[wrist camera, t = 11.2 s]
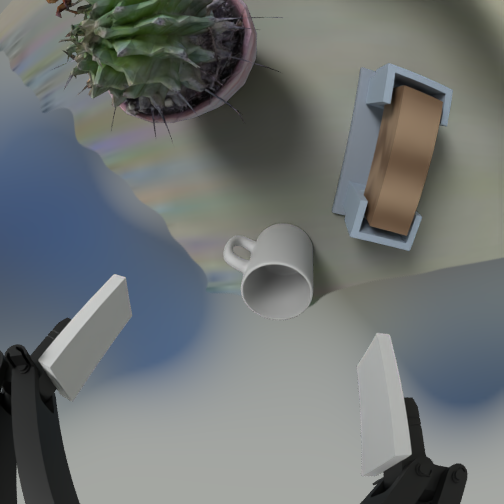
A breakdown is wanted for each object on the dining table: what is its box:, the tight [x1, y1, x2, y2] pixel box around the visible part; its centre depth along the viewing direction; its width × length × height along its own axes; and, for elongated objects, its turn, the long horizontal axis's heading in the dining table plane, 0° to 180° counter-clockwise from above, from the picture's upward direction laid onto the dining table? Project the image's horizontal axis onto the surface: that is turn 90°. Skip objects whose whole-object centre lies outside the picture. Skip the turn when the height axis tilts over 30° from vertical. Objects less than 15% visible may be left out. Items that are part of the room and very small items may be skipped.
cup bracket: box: [332, 63, 453, 251], centre depth 27 cm, size 20×10×9 cm, turn 172°
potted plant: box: [46, 0, 282, 142], centre depth 19 cm, size 18×20×25 cm
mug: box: [224, 223, 313, 320], centre depth 36 cm, size 12×8×11 cm
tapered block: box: [364, 85, 443, 236], centre depth 25 cm, size 15×4×6 cm, turn 172°
